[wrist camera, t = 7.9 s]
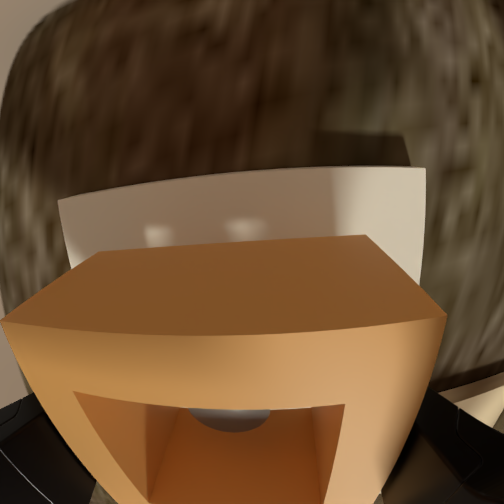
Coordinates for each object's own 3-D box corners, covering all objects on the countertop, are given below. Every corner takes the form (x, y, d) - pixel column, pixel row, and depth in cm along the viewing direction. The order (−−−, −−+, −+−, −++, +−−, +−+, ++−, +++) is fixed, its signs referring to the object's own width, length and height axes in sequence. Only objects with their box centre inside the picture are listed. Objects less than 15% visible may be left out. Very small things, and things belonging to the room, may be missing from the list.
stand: (510, 369, 11) (552, 423, 6) (460, 458, 14) (480, 506, 9) (373, 406, 12) (399, 492, 7) (348, 488, 15) (356, 547, 10)
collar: (365, 234, 7) (447, 315, 3) (345, 426, 9) (362, 520, 5) (98, 251, 8) (-1, 320, 4) (156, 426, 10) (124, 509, 6)
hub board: (411, 166, 9) (497, 181, 4) (385, 397, 12) (412, 473, 7) (73, 195, 10) (-15, 224, 5) (133, 402, 13) (99, 470, 9)
